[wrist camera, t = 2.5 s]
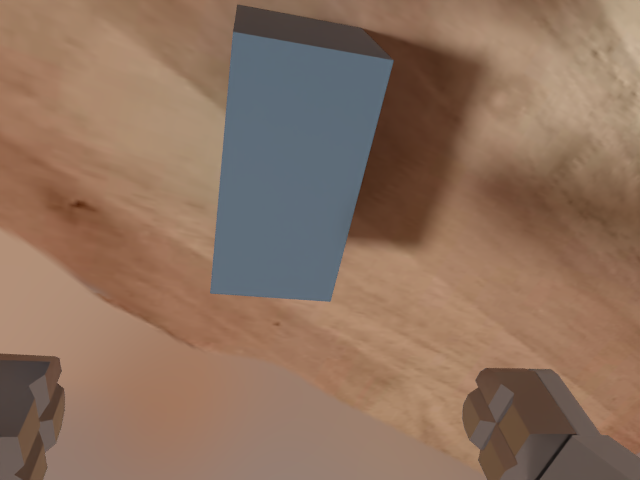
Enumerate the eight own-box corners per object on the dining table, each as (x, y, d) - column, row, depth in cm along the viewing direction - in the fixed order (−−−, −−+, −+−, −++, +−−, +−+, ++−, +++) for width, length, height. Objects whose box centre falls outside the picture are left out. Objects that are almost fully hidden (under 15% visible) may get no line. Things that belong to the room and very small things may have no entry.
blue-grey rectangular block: (360, 27, 18) (393, 60, 14) (309, 260, 23) (321, 333, 19) (237, 3, 17) (232, 31, 13) (215, 252, 22) (207, 327, 18)
